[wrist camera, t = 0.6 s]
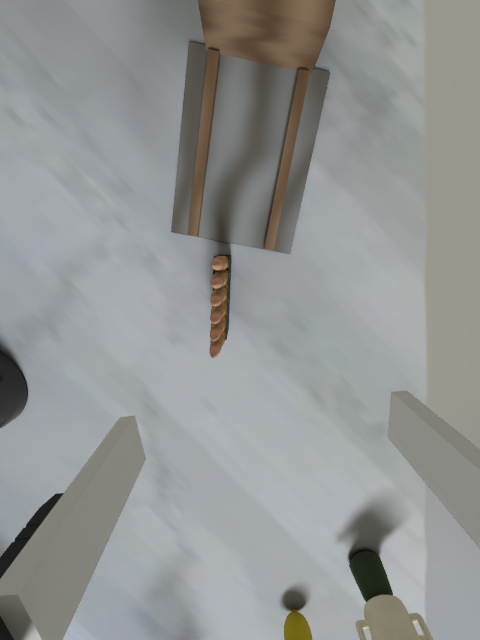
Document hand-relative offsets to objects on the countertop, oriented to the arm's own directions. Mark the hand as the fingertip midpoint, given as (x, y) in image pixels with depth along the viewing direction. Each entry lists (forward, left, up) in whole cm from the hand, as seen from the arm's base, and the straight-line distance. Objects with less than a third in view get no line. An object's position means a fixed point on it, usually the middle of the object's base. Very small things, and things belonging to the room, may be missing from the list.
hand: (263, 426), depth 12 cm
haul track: (-4, +21, -23) cm, 32 cm away
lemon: (+22, -63, -23) cm, 71 cm away
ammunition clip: (-4, +3, -23) cm, 24 cm away
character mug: (+32, -45, -23) cm, 60 cm away
